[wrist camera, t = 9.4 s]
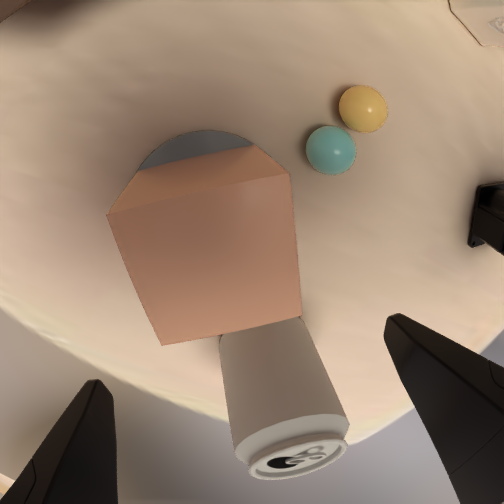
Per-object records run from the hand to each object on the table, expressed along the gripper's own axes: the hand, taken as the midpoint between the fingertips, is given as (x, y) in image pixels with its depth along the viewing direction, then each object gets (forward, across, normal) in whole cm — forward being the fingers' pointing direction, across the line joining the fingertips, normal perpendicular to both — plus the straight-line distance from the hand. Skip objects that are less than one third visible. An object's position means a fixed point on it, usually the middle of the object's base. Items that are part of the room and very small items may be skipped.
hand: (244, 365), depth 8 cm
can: (+13, -2, +12) cm, 17 cm away
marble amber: (+12, -10, -5) cm, 17 cm away
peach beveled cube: (+12, 0, 0) cm, 12 cm away
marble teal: (+12, -7, -3) cm, 15 cm away
